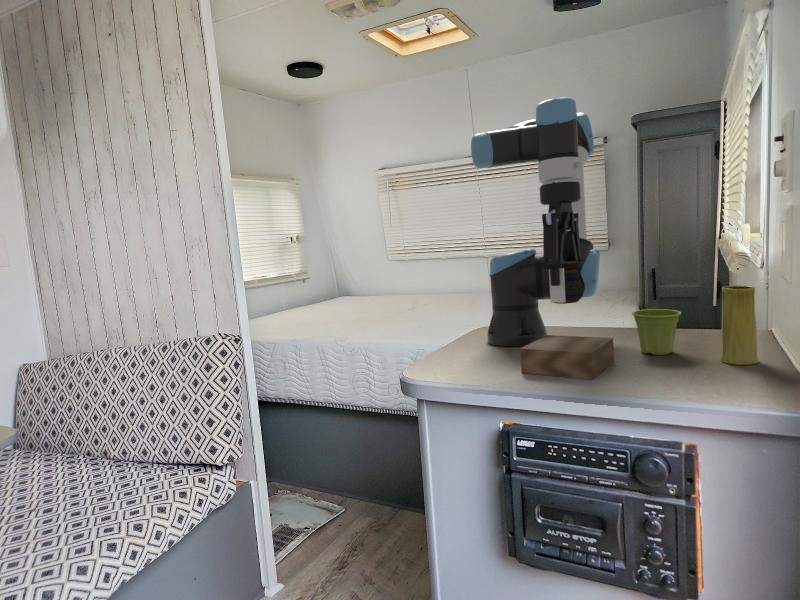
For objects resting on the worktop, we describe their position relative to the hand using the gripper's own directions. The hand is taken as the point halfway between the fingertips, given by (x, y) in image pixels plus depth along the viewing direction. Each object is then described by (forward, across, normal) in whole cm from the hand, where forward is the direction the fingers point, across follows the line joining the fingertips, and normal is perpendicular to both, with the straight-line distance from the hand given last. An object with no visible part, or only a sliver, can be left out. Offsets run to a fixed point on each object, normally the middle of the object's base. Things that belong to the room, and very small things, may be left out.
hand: (565, 299), depth 104 cm
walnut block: (+14, 0, 0) cm, 14 cm away
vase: (+14, +14, -28) cm, 34 cm away
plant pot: (+14, +18, -13) cm, 26 cm away
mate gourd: (+1, 0, 0) cm, 1 cm away
